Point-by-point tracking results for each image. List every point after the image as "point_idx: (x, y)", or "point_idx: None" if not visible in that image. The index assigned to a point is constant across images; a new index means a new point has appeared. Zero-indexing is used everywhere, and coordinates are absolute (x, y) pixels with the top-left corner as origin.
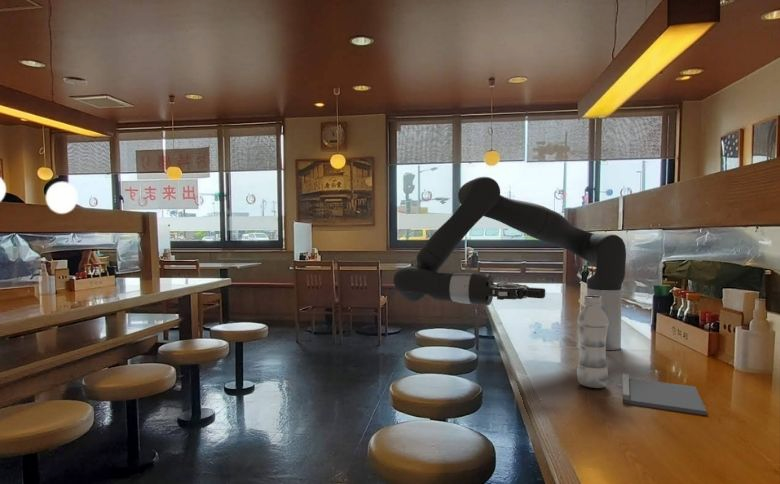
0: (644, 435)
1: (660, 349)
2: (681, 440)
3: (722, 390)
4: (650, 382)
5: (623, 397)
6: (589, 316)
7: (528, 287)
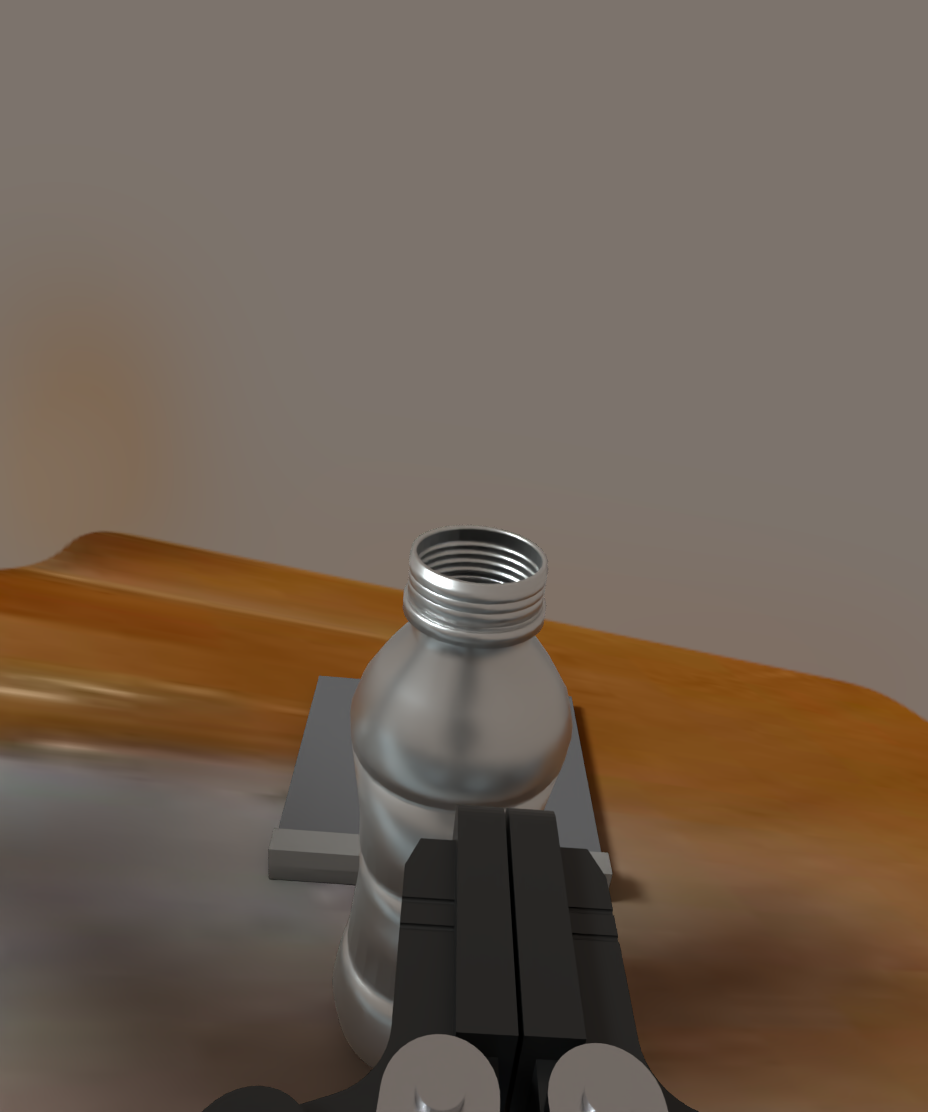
0: (883, 868)
1: None
2: (829, 789)
3: (292, 635)
4: (313, 778)
5: (610, 881)
6: (563, 694)
7: (458, 1044)
